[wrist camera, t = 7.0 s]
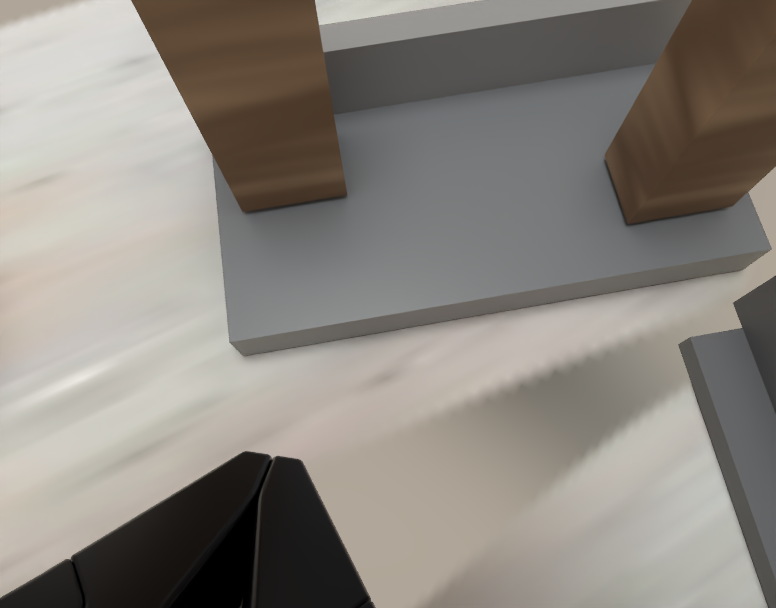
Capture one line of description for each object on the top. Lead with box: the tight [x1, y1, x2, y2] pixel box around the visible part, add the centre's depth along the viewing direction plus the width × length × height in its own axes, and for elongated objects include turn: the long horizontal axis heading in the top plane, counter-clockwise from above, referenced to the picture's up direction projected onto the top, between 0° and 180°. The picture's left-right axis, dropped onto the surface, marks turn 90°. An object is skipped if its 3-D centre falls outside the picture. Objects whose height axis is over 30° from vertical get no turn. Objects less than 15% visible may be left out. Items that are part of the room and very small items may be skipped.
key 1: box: [605, 0, 776, 224], centre depth 17 cm, size 3×4×12 cm
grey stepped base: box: [212, 0, 772, 356], centre depth 23 cm, size 10×20×6 cm, turn 100°
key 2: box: [131, 0, 347, 212], centre depth 18 cm, size 3×4×12 cm
